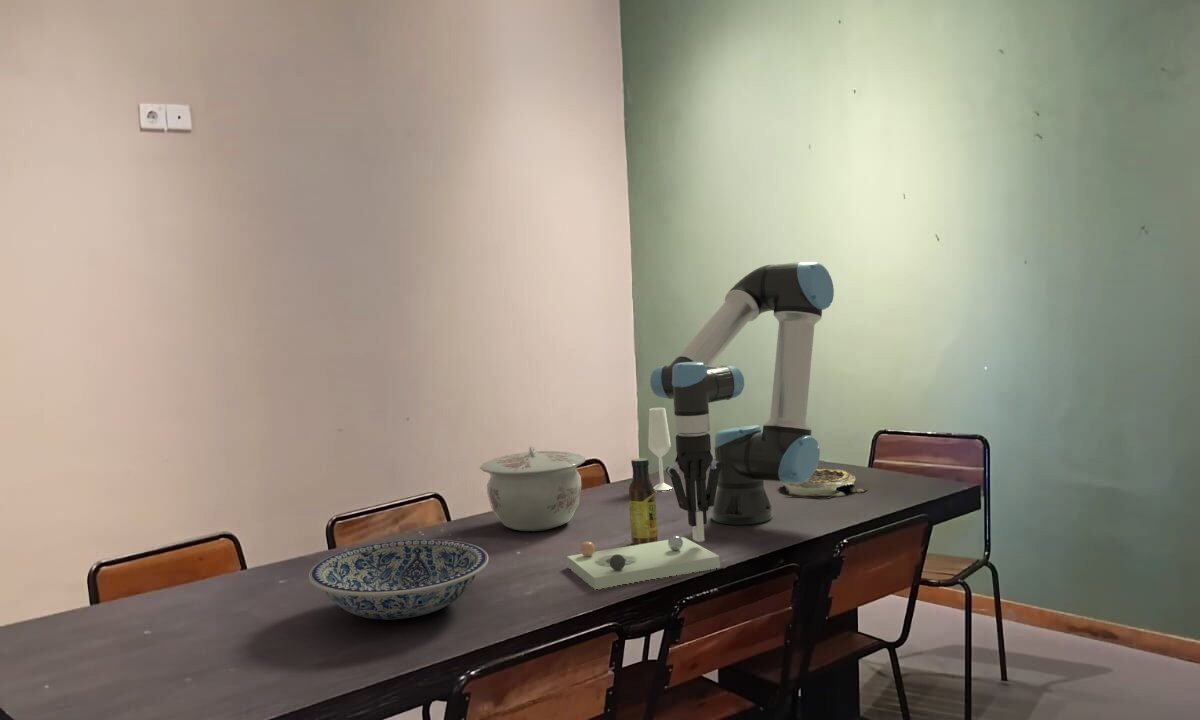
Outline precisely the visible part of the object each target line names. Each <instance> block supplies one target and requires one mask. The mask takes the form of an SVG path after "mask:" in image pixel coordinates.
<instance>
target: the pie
mask: <svg viewBox="0 0 1200 720" xmlns="http://www.w3.org/2000/svg"><path fill="white" fill-rule="evenodd" d="M855 482H856V476H855V475H854V474H853V475H852V473H851V472H848V471H846V470H843V469H836V468H835V469H829V468H828V469H826V468H822V469H818V468H816V470H815V472H814V474H813V475H812V476H811V477H810V479H808V480H807V481H806V482H804V483H800V484H795V483H790V484H786V483H782V482H781V484H783V486H784V487H785V491H786V492H787V493H788V495H790V496H789V497H790V498H793V497H794V498H795V497H796V498H801V496H802V498H805V499H811V497H814V499H815V500H816V499H818V500H825V499H826V500H827V499H831V498H833V497H843V496H846V494H845V492H843V491H839V490H837V488H841V487H843V488H845V489H849V492H851V493H864V492H866V491H868V490H869V488H866V489H864V488H856V486H855ZM791 495H793V496H791ZM795 495H796V496H795ZM820 496H829V497H823V498H820ZM817 497H818V498H817Z"/></svg>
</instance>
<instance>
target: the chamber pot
mask: <svg viewBox="0 0 1200 720" xmlns="http://www.w3.org/2000/svg"><path fill="white" fill-rule="evenodd" d="M528 449H529V451H527V452H526V451H525V452H517V453H512V454H507V455H502V456H500V457H496V458H492V459H490V460H488V461H485V462H484V463H482V464H481V465H480V467H479V469H480V470H482V472H484V473H488V474H489V475H490V478H489V479H488V482H487V485H486V491H487V497H488V501H489V504H490V508H491V510H492V511H493V513H494V515H496V517H497V519H499V521H500V523H502V525H503V526H505V527H506V528H509V529H512V530H516V531H519V532H530V531H532V532H543V531H547V530H552V529H555V528H559V527H560V526H562V525H565V524H566V523H568V522H569V521H570V520H572V518H573V516H574V513H576V510H577V508H578V507H579V504H580V500H581V498H580V497H581V492H582V475H580V472H578V470H577V468H578V466H581V465H582V464H584V463H585V462H586V457H584V456H583V455H581V454H577V453H573V452H569V451H555V450H554V451H553V450H539V451H536V450H535V447H534V446H530V447H529V448H528ZM558 526H559V527H558Z"/></svg>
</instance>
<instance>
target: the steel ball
mask: <svg viewBox="0 0 1200 720" xmlns="http://www.w3.org/2000/svg"><path fill="white" fill-rule="evenodd" d="M681 538H682V537H681V536H678V535H672V536H670V538H669V539H668V540H669V541H668V546H669V548H670V549H671V550H674V551H678V550H680V549H681V548H682V546H683V541H682V539H681Z"/></svg>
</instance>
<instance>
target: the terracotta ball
mask: <svg viewBox="0 0 1200 720" xmlns="http://www.w3.org/2000/svg"><path fill="white" fill-rule="evenodd" d="M594 552H596V547H595V544H594V543H593V542H591V541H587V540H586V541H584V542H582V544H581V545H580V554H583V555H584V556H591V555H593V553H594Z"/></svg>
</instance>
